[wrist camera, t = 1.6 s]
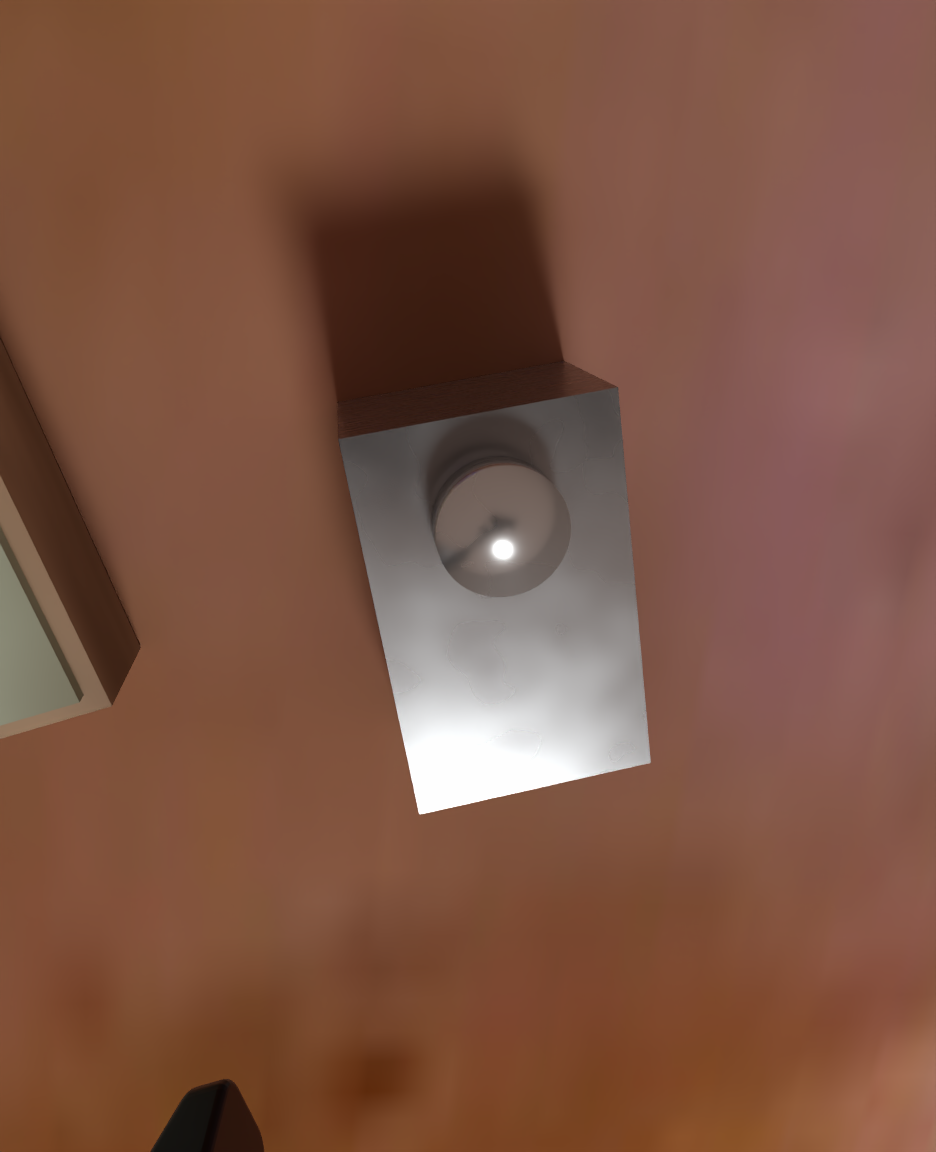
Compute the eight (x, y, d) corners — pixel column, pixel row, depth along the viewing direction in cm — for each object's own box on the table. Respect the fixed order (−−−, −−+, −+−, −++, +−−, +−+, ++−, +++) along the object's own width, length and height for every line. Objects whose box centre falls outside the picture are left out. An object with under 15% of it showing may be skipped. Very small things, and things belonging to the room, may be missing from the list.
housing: (404, 716, 21) (423, 838, 17) (337, 400, 18) (339, 449, 14) (596, 675, 22) (663, 784, 17) (561, 360, 19) (632, 394, 14)
